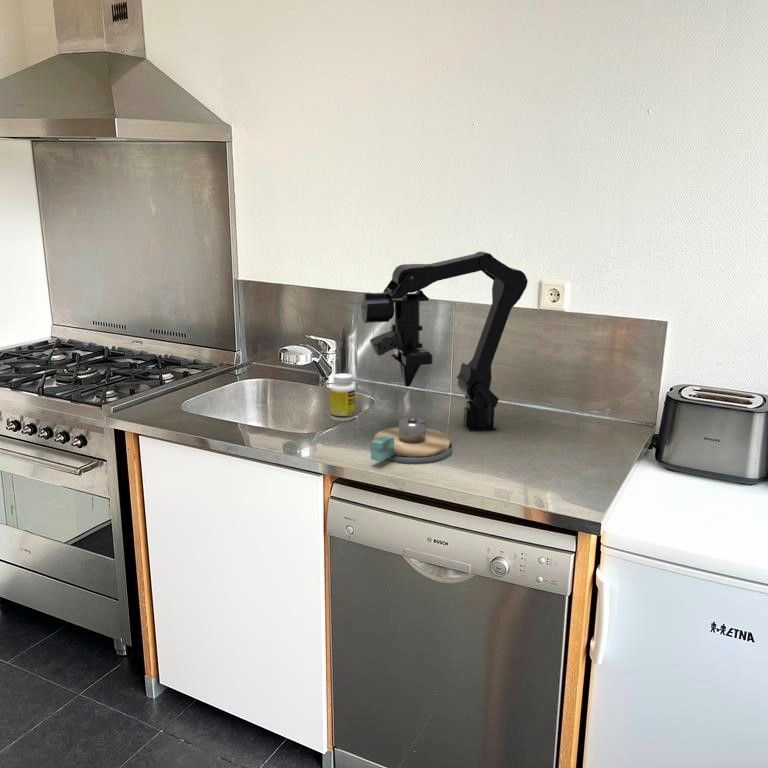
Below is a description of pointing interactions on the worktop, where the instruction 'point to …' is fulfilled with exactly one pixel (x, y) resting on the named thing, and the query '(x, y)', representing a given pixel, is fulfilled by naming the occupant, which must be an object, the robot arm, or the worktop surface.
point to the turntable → (407, 444)
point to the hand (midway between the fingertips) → (407, 386)
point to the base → (421, 458)
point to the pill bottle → (342, 398)
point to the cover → (412, 430)
